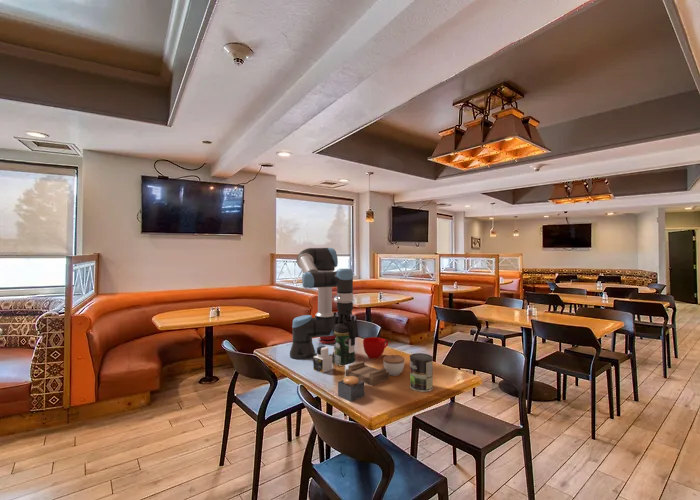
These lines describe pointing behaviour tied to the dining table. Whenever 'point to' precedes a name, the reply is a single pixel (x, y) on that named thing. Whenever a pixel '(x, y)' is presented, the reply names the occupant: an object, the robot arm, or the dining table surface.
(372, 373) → the cradle rack
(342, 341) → the coffee jar
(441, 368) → the dining table surface
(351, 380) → the release button
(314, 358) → the medicine bottle
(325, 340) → the plant pot
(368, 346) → the ceramic cup
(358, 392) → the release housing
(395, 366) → the lidded jar
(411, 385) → the coffee can
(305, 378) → the dining table surface
